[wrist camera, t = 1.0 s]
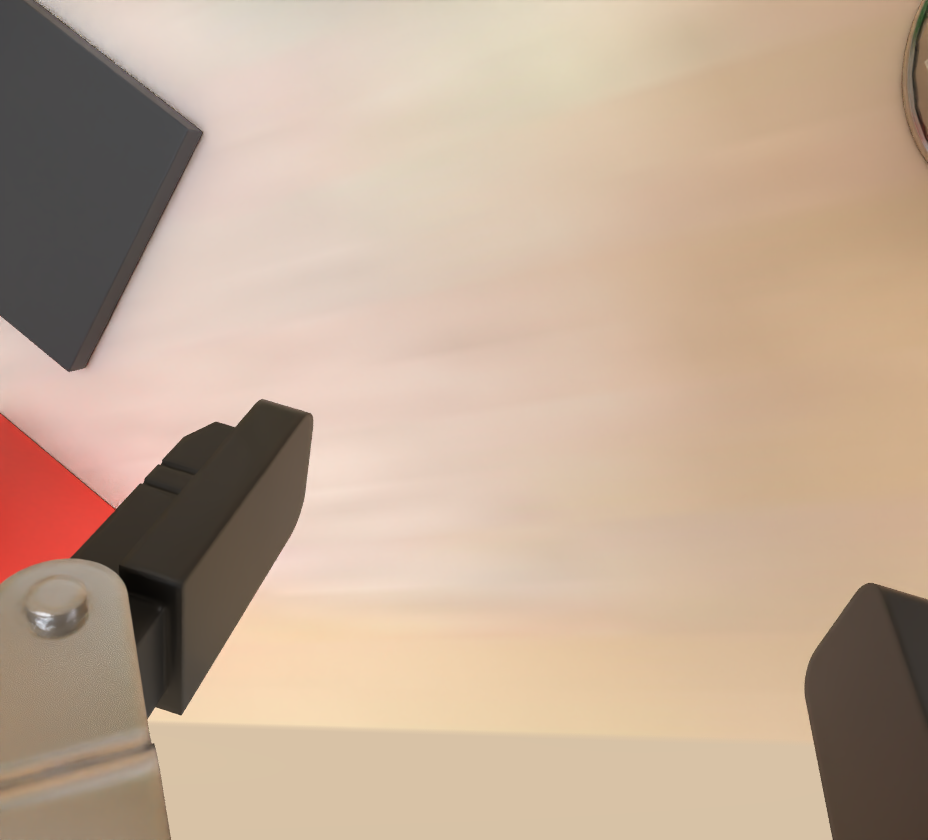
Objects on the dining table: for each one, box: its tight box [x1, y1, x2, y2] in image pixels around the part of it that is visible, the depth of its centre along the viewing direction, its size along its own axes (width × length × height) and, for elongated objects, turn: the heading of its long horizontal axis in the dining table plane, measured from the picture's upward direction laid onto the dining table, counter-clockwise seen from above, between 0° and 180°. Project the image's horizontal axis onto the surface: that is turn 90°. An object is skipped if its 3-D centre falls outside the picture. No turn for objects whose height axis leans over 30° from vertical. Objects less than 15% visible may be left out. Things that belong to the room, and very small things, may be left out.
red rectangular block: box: [0, 414, 115, 584], centre depth 32 cm, size 2×12×9 cm, turn 54°
